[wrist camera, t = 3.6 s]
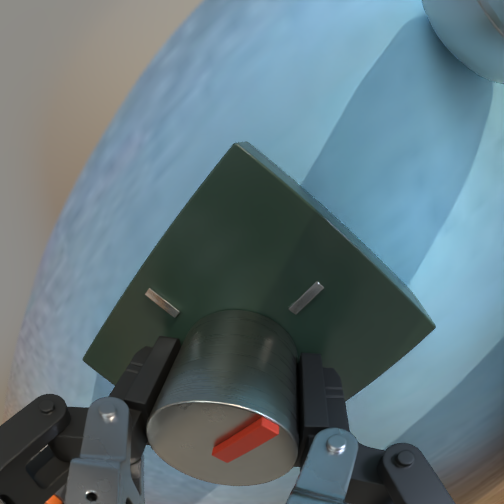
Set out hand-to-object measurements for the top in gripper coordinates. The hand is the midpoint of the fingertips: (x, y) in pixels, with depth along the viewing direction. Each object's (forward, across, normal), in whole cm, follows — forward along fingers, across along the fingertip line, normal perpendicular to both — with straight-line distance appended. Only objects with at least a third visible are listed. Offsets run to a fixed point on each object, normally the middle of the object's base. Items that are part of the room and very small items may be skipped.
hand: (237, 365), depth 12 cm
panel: (+4, 0, 0) cm, 4 cm away
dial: (0, 0, 0) cm, 0 cm away
